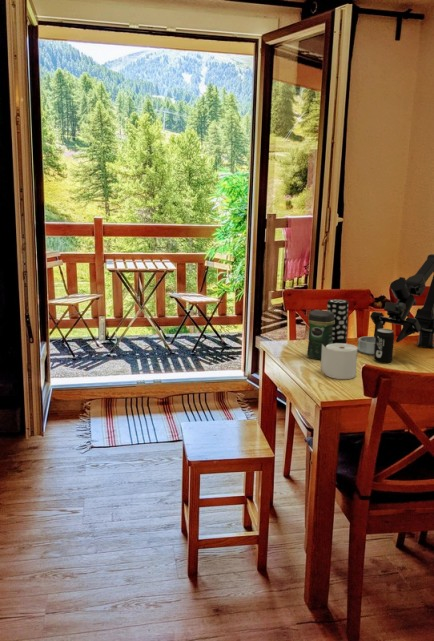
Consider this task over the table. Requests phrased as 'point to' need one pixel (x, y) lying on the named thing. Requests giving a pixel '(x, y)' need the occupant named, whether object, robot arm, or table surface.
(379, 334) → the beverage can
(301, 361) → the table surface
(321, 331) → the coffee jar
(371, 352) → the can holder
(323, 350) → the toilet tissue
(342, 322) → the white-spotted black cylinder
